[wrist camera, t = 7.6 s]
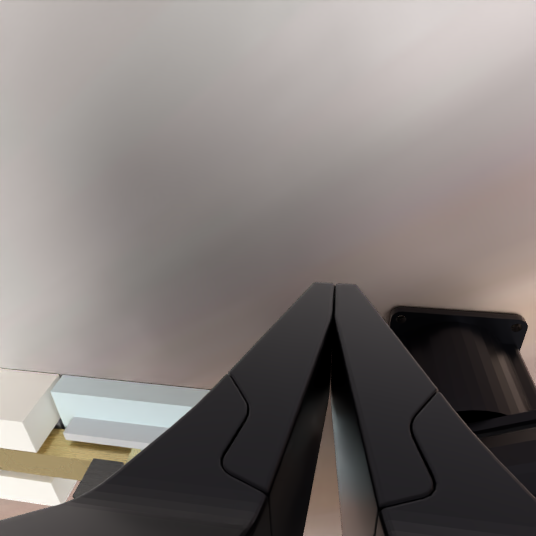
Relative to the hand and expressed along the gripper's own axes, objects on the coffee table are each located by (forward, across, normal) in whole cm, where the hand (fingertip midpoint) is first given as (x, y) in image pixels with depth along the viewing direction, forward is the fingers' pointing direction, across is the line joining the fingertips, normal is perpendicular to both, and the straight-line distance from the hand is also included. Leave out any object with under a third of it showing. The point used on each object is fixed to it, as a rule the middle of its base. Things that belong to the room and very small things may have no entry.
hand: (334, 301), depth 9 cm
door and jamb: (+12, +13, +21) cm, 27 cm away
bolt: (+10, +18, +21) cm, 29 cm away
